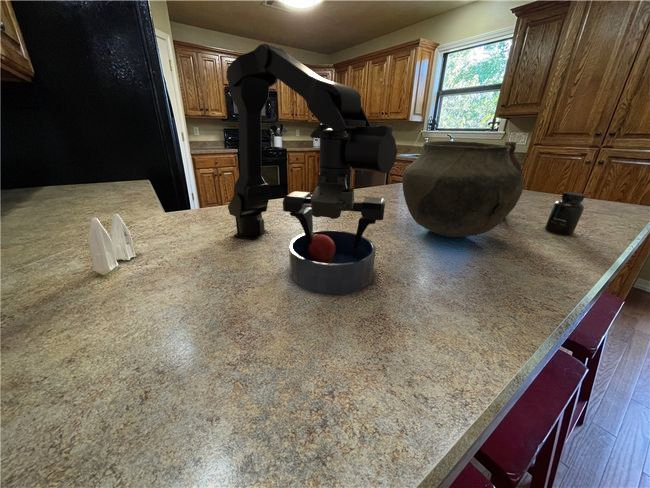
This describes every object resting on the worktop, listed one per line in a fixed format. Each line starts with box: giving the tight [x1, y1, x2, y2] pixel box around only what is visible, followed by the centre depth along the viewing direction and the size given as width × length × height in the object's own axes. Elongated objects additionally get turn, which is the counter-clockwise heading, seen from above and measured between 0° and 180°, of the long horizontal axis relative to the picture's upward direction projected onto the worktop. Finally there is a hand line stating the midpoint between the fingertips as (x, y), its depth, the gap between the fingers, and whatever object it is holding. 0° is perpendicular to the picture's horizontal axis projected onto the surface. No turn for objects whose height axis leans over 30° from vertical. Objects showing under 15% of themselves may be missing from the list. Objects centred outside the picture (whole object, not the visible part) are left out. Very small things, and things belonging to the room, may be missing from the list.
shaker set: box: [87, 213, 136, 276], centre depth 54 cm, size 12×4×11 cm, turn 9°
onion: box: [308, 234, 336, 263], centre depth 58 cm, size 6×6×8 cm
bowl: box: [288, 229, 377, 295], centre depth 55 cm, size 17×17×6 cm
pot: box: [401, 140, 525, 238], centre depth 74 cm, size 29×32×25 cm
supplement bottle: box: [544, 191, 586, 237], centre depth 80 cm, size 7×7×12 cm
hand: (332, 246), depth 54 cm, fingers open, 9 cm apart
